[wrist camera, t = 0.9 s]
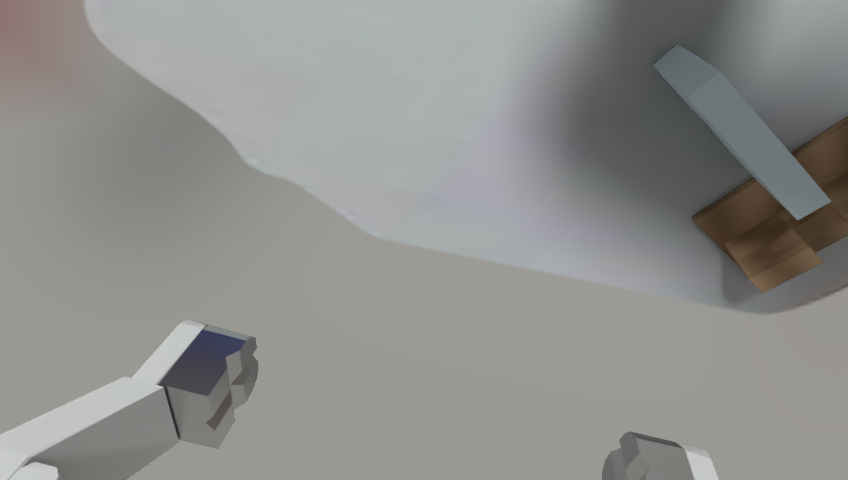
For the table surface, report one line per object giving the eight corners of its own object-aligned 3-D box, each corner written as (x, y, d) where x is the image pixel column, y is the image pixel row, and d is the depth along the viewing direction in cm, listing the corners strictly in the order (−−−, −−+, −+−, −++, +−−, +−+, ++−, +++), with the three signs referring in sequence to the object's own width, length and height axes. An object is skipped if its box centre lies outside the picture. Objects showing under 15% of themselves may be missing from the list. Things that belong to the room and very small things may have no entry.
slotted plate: (652, 65, 40) (687, 97, 32) (677, 43, 39) (721, 70, 30) (744, 167, 43) (797, 220, 35) (769, 150, 42) (831, 201, 34)
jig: (853, 112, 39) (910, 141, 34) (915, 192, 42) (977, 231, 36) (692, 217, 47) (716, 254, 41) (752, 279, 49) (783, 321, 44)
